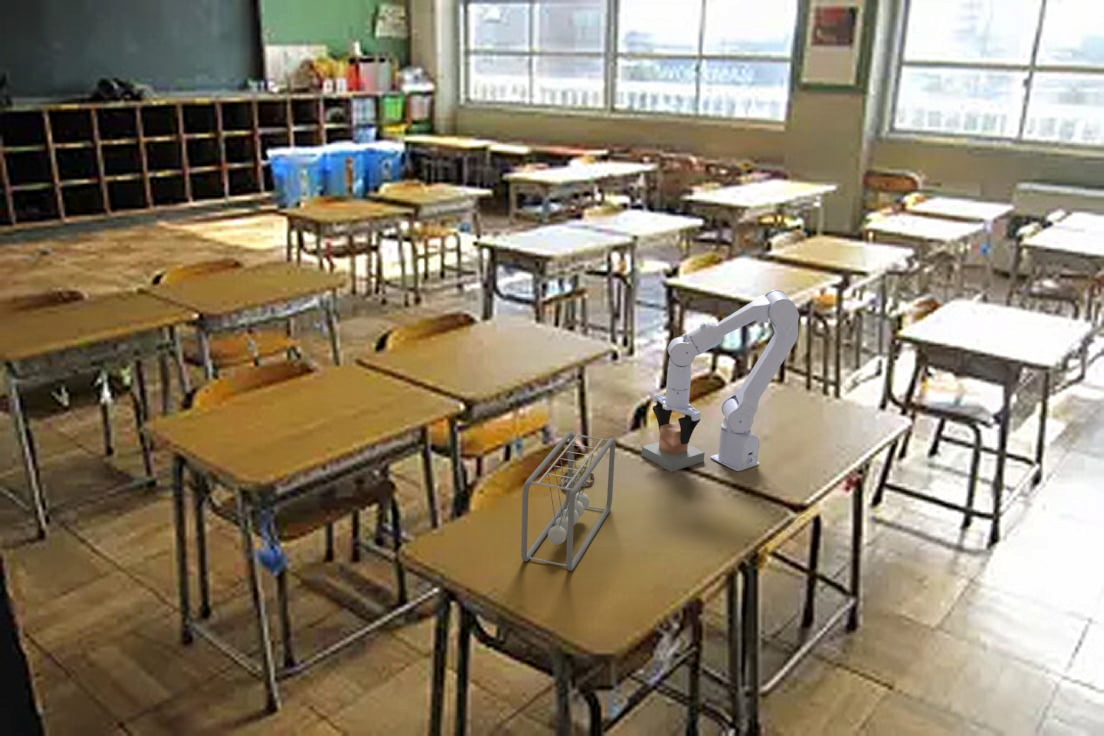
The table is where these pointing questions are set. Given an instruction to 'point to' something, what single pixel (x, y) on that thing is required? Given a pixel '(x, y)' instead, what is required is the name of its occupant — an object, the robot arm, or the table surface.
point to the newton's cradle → (567, 500)
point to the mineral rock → (588, 481)
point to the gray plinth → (672, 457)
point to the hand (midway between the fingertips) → (674, 438)
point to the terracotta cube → (671, 439)
